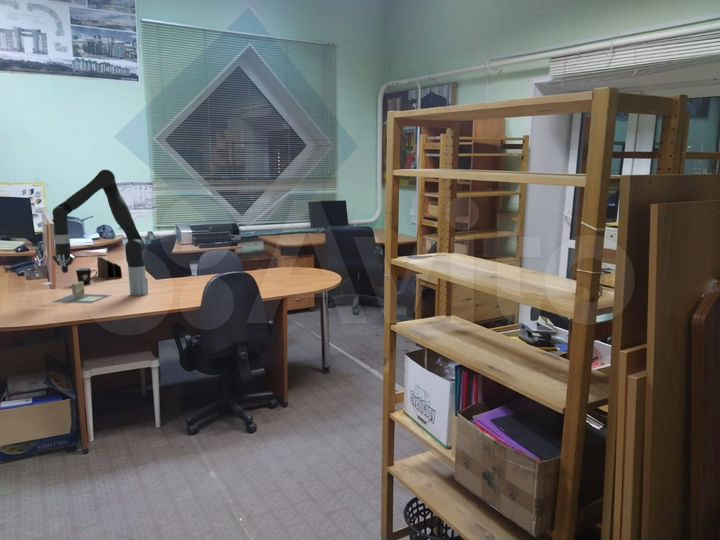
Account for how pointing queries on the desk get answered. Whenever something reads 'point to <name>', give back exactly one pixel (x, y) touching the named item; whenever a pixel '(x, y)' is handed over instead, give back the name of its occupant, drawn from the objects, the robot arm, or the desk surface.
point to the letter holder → (108, 269)
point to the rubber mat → (82, 299)
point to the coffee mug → (84, 275)
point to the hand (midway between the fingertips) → (65, 272)
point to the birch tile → (78, 290)
